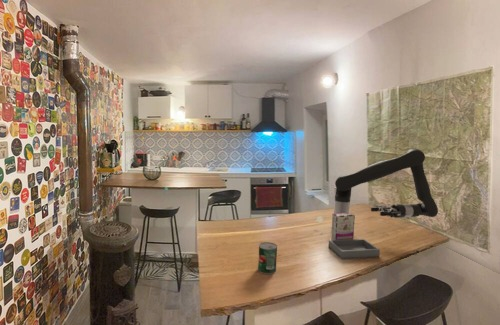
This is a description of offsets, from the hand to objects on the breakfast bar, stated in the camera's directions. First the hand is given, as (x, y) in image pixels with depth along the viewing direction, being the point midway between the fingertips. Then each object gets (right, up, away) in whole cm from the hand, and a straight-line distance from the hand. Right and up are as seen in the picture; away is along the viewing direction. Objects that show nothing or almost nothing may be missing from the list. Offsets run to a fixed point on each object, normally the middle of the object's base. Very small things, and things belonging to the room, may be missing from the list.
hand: (375, 211), depth 164 cm
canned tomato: (-62, -20, -34) cm, 74 cm away
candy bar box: (-19, -17, -1) cm, 26 cm away
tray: (-17, -19, -13) cm, 28 cm away
